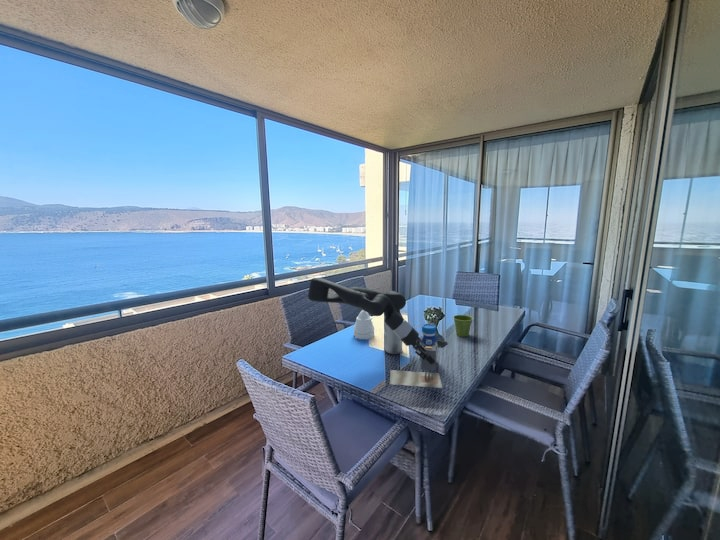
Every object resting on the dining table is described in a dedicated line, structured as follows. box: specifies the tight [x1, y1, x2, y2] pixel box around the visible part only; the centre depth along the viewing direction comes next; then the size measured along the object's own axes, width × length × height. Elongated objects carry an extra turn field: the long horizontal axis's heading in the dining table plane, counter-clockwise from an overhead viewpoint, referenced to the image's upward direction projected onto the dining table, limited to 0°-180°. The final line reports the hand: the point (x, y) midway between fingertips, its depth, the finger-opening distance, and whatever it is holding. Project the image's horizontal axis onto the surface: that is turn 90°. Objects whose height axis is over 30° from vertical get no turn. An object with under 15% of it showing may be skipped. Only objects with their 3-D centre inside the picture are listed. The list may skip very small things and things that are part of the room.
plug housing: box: [419, 346, 437, 372], centre depth 125 cm, size 6×4×10 cm, turn 81°
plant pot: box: [452, 314, 474, 338], centre depth 180 cm, size 12×12×11 cm
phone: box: [437, 338, 448, 348], centre depth 171 cm, size 8×1×15 cm
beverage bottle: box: [419, 323, 438, 365], centre depth 142 cm, size 8×8×20 cm
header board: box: [389, 369, 443, 389], centre depth 128 cm, size 22×12×4 cm, turn 82°
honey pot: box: [353, 309, 375, 340], centre depth 180 cm, size 13×13×18 cm
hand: (432, 360), depth 125 cm, fingers closed on plug housing, 4 cm apart
